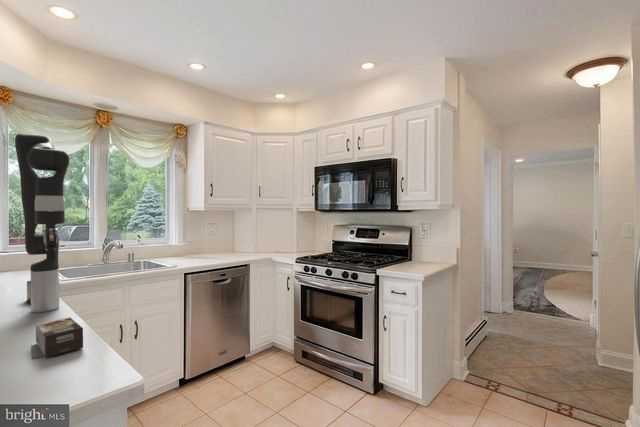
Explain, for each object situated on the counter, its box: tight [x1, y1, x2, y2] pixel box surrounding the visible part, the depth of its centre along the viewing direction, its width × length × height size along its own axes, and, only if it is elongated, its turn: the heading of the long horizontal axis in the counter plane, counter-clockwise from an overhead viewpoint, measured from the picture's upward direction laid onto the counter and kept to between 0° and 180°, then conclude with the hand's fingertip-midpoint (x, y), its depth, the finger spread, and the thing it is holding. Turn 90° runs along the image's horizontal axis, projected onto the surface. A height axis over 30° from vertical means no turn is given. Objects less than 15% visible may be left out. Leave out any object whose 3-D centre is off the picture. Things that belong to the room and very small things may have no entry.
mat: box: [31, 343, 45, 360], centre depth 99 cm, size 12×10×1 cm
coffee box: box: [35, 317, 84, 358], centre depth 100 cm, size 9×6×16 cm
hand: (50, 261), depth 106 cm, fingers closed
